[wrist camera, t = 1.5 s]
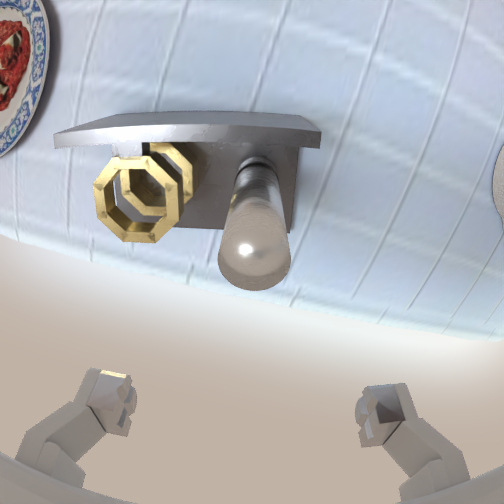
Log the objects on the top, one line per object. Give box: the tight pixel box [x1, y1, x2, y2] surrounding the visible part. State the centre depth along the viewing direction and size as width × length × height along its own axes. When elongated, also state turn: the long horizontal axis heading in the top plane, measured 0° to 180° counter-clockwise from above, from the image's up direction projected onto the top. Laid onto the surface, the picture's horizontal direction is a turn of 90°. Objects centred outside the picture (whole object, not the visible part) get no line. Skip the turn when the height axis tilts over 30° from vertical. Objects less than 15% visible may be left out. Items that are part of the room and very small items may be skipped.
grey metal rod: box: [218, 157, 291, 291], centre depth 25 cm, size 4×4×17 cm
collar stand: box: [53, 111, 321, 243], centre depth 28 cm, size 20×13×12 cm, turn 87°
